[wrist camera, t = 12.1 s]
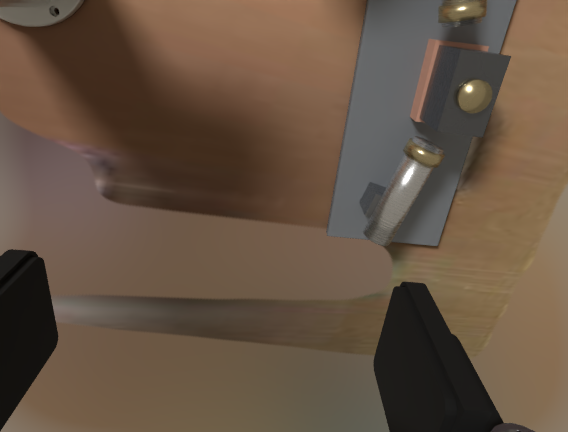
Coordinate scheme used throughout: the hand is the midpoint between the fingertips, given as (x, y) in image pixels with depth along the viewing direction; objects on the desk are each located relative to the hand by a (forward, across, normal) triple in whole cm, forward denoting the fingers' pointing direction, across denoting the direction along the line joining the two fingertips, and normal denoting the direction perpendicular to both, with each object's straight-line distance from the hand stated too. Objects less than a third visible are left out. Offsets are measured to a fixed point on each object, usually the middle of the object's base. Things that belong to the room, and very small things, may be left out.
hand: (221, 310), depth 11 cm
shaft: (+33, -14, +7) cm, 37 cm away
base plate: (+33, -15, -3) cm, 36 cm away
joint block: (+30, -17, -3) cm, 35 cm away
